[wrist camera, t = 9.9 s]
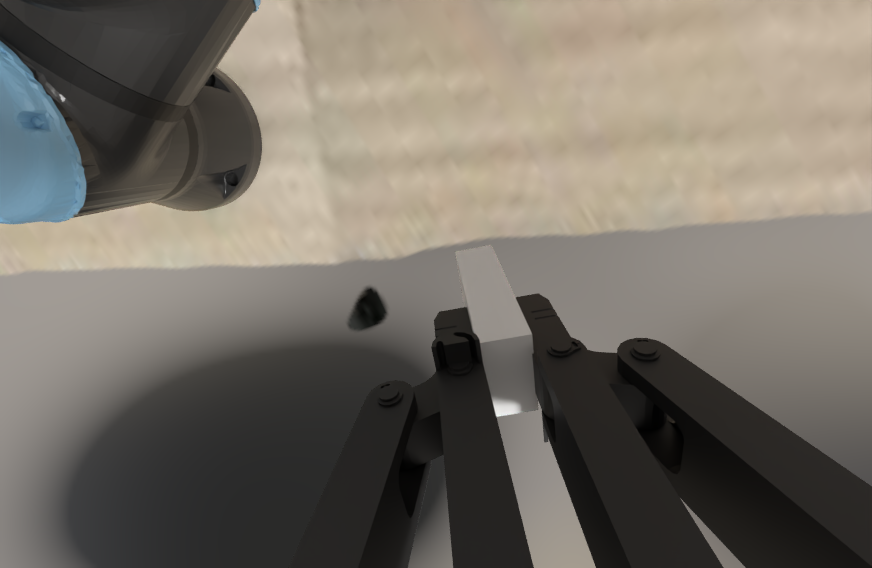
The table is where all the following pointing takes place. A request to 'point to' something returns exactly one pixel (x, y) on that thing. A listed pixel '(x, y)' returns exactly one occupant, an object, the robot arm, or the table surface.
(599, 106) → the table surface
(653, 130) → the table surface
